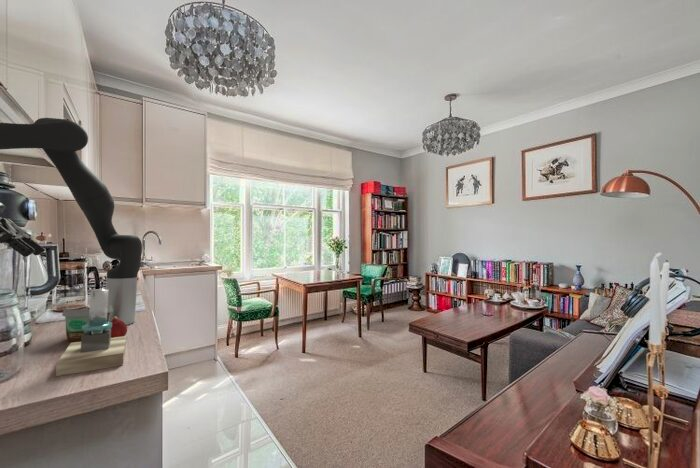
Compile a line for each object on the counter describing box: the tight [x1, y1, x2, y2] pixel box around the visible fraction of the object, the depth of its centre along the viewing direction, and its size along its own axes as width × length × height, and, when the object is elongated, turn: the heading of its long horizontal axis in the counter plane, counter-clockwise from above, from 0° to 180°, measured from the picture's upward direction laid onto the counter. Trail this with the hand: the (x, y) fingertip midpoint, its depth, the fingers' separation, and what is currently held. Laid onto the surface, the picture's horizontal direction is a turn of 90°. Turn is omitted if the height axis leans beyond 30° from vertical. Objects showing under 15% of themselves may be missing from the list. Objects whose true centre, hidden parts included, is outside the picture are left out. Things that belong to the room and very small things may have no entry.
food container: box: [61, 305, 113, 343], centre depth 91 cm, size 12×6×10 cm, turn 114°
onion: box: [111, 316, 128, 338], centre depth 89 cm, size 6×6×8 cm
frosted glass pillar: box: [82, 288, 112, 334], centre depth 77 cm, size 6×6×15 cm
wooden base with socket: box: [55, 328, 127, 377], centre depth 76 cm, size 16×12×7 cm
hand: (36, 253), depth 70 cm, fingers open, 8 cm apart
